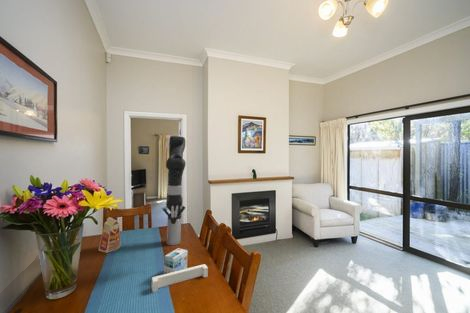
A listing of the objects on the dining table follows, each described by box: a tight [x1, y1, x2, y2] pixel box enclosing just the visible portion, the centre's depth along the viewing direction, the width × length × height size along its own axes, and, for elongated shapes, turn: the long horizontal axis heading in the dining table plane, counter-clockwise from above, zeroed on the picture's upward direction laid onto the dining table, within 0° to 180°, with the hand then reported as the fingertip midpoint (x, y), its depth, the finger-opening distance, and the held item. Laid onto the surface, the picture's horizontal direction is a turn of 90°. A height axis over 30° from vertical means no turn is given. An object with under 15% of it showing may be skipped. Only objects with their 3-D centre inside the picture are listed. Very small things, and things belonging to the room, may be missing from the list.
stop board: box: [151, 263, 209, 293], centre depth 95 cm, size 4×26×4 cm, turn 121°
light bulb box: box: [163, 247, 189, 274], centre depth 102 cm, size 11×7×11 cm, turn 156°
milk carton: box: [98, 216, 121, 254], centre depth 127 cm, size 9×9×20 cm
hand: (173, 223), depth 112 cm, fingers closed
